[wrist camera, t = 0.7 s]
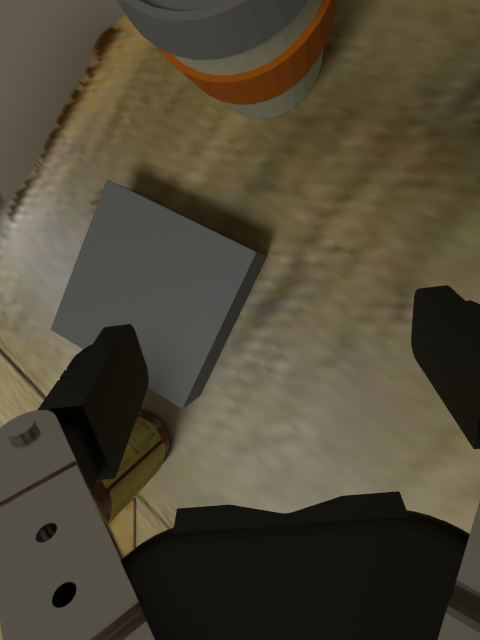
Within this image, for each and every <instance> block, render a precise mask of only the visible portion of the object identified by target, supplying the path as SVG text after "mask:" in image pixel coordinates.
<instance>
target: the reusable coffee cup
mask: <svg viewBox="0 0 480 640" xmlns="http://www.w3.org/2000/svg"><path fill="white" fill-rule="evenodd" d="M117 1H118V2H119V4H120V5H121V7H122V9H123V10H124V12H125V14H126V15H127V17H128V18H129V20H130V21H131V22H132V23H133V25H134V26H135V27H136V29H137V30H138V31H139V32H140V34H141V35H142V36H143V37H145V38H146V39H147V40H148V41H150V42H151V43H152V44H153V45H155V46H156V47H157V48H159V50H160V51H161V52H162V53H163V55H164V56H165V57H166V58H167V60H168V61H169V62H170V63H172V64H173V65H174V66H175V67H176V68H177V69H179V70H180V71H181V72H182V73H183V74H184V75H186V76H187V77H188V78H189V79H190V80H191V81H193V82H194V83H195V84H196V85H197V86H198V87H200V88H201V89H202V90H203V91H205V92H206V93H207V94H208V95H210V96H212V97H214V98H216V99H218V100H220V101H222V102H225V103H226V104H227V105H229V106H230V107H231V108H232V109H233V110H235V111H236V112H238V113H240V114H242V115H244V116H246V117H250V118H255V119H267V118H272V117H276V116H279V115H281V114H284V113H286V112H288V111H289V110H291V109H292V108H294V107H295V106H297V105H298V104H299V103H300V102H301V101H302V100H303V99H304V98H305V97H306V95H307V94H308V93H309V91H310V90H311V89H312V87H313V85H314V83H315V81H316V79H317V78H318V74H319V71H320V68H321V64H322V56H323V48H324V46H325V44H326V42H327V39H328V36H329V33H330V30H331V27H332V21H333V13H334V6H335V0H117Z"/></svg>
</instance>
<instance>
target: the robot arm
mask: <svg viewBox="0 0 480 640" xmlns="http://www.w3.org/2000/svg"><path fill="white" fill-rule="evenodd" d="M411 344H412V350H413V354H414V357H415V359H416V361H417V362H418V364H419V365H420V367H421V368H422V370H423V372H424V373H425V375H426V376H427V378H428V379H429V381H430V382H431V384H432V385H433V387H434V389H435V390H436V392H437V393H438V395H439V396H440V398H441V399H442V401H443V402H444V404H445V405H446V407H447V409H448V410H449V412H450V413H451V415H452V416H453V418H454V419H455V421H456V422H457V424H458V425H459V427H460V429H461V430H462V432H463V433H464V435H465V436H466V438H467V439H468V441H469V442H470V444H471V445H472V447H473V449H480V304H478V303H475V302H473V301H471V300H470V301H465V300H464V299H463V298H462V297H460V296H459V295H458V294H457V293H456V292H455V291H454V290H453V289H452V288H451V287H449V286H447V285H445V286H437V287H429V288H421V289H417V290H416V292H415V296H414V306H413V320H412V334H411ZM148 382H149V376H148V369H147V365H146V362H145V359H144V356H143V353H142V350H141V347H140V344H139V341H138V338H137V335H136V332H135V329H134V327H133V326H132V325H131V324H124V325H116V326H108V327H104V328H103V329H102V331H101V332H100V334H99V335H98V337H97V338H96V340H95V341H94V343H93V344H92V345H88V346H87V347H86V348H85V349H83V350H82V351H81V352H80V353H78V354H77V355H76V356H75V357H74V358H73V360H72V361H71V362H70V364H69V365H68V367H67V370H65V371H64V373H63V374H62V375H61V377H60V380H58V381H57V383H56V384H55V385H54V387H53V388H52V390H51V391H50V393H49V394H48V396H47V397H46V398H45V400H44V401H43V403H42V404H41V406H40V407H39V409H38V410H37V411H32V412H28V413H25V414H22V415H20V416H18V417H16V418H14V419H12V420H11V421H9V422H7V423H6V424H5V425H3V426H2V427H1V428H0V622H1V629H2V637H3V640H480V502H479V505H478V509H477V512H476V515H475V519H474V522H473V526H472V529H471V532H470V534H469V533H467V532H465V531H464V530H462V529H460V528H458V527H456V526H454V525H452V524H450V523H448V522H445V521H443V520H440V519H437V518H435V517H432V516H429V515H425V514H422V513H418V512H414V511H408V510H406V508H405V505H404V502H403V500H402V497H401V495H400V492H386V493H373V494H360V495H348V496H341V497H338V498H335V499H332V500H329V501H326V502H322V503H319V504H316V505H313V506H310V507H307V508H304V509H301V510H298V511H295V512H292V513H285V514H284V513H276V512H270V511H264V510H258V509H252V508H246V507H240V506H235V505H219V506H206V507H193V508H181V509H177V513H176V518H175V524H174V528H171V529H168V530H166V531H164V532H162V533H159V534H157V535H155V536H153V537H152V538H150V539H148V540H147V541H145V542H143V543H142V544H140V545H139V546H138V547H136V548H135V549H133V550H132V551H131V552H130V553H128V554H127V555H126V556H125V557H124V556H123V553H122V551H121V549H120V547H119V545H118V543H117V541H116V538H115V536H114V534H113V532H112V530H111V528H110V526H109V523H108V521H107V519H106V517H105V515H104V513H103V511H102V508H101V506H100V504H99V502H98V500H97V498H96V496H95V494H94V492H93V488H94V486H95V483H96V481H97V480H105V479H115V477H116V475H117V472H118V469H119V466H120V463H121V461H122V458H123V455H124V452H125V450H126V447H127V444H128V441H129V438H130V436H131V433H132V430H133V427H134V425H135V422H136V419H137V416H138V413H139V411H140V408H141V405H142V402H143V399H144V397H145V394H146V391H147V388H148Z"/></svg>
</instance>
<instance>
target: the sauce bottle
mask: <svg viewBox="0 0 480 640" xmlns="http://www.w3.org/2000/svg"><path fill="white" fill-rule="evenodd" d="M168 452H169V438H168V432H167V430H166V428H165V427H164V425H163V424H162V423H161V422H160V421H159V420H158V419H157V418H156V417H155V416H153V415H152V414H150V413H147V412H141V411H139V413H138V416H137V419H136V422H135V425H134V427H133V430H132V433H131V436H130V438H129V441H128V444H127V447H126V450H125V452H124V455H123V458H122V461H121V463H120V466H119V469H118V472H117V475H116V477H115V479H105V480H97V481H96V483H95V486H94V488H93V492H94V494H95V496H96V498H97V500H98V502H99V504H100V506H101V508H102V511H103V513H104V515H105V517H106V519H107V521H108V523H109V524H110V523H111V522H112V521H113V519H114V518H115V517H116V516H117V515H118V514H119V513H120V512H121V511H122V510H123V509H124V508H125V507H126V505H127V504H128V503H129V502H130V501H131V500H132V499H133V498H134V497H135V496H136V495H137V494H138V492H139V491H140V490H141V489H142V488H143V487H144V486H145V485H146V484H147V482H148V481H149V480H150V479H151V478H152V477H153V476H154V475H155V474H156V473H157V471H158V470H159V469H160V468H161V466H162V464H163V463H164V461H165V460H166V458H167V457H168Z"/></svg>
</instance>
